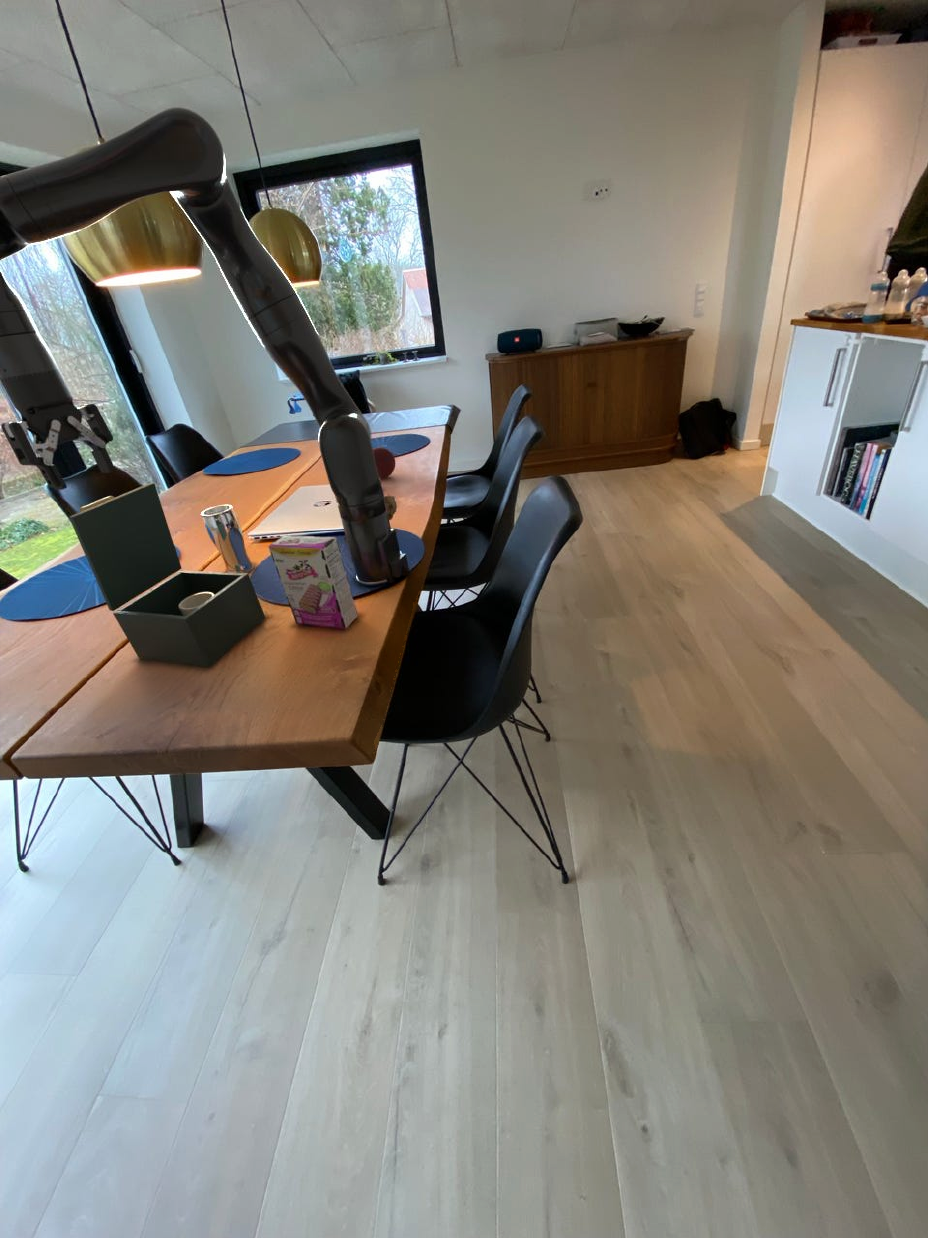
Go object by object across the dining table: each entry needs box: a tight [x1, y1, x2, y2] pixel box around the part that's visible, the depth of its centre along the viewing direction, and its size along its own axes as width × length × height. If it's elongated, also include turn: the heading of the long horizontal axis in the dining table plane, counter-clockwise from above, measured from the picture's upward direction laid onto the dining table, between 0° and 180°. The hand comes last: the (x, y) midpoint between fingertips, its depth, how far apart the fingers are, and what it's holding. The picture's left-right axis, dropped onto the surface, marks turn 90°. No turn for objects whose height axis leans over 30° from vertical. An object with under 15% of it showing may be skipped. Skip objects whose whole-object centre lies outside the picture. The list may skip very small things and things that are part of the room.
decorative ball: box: [372, 446, 396, 479], centre depth 170 cm, size 10×10×10 cm
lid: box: [68, 482, 182, 612], centre depth 89 cm, size 17×16×6 cm
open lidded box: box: [112, 569, 267, 669], centre depth 93 cm, size 16×16×10 cm
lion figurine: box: [344, 494, 398, 540], centre depth 127 cm, size 15×5×9 cm, turn 110°
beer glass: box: [200, 504, 255, 573], centre depth 117 cm, size 7×7×15 cm
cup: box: [179, 592, 214, 616], centre depth 93 cm, size 6×6×8 cm
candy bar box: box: [267, 534, 359, 630], centre depth 91 cm, size 11×5×16 cm, turn 71°
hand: (85, 480), depth 83 cm, fingers open, 8 cm apart
